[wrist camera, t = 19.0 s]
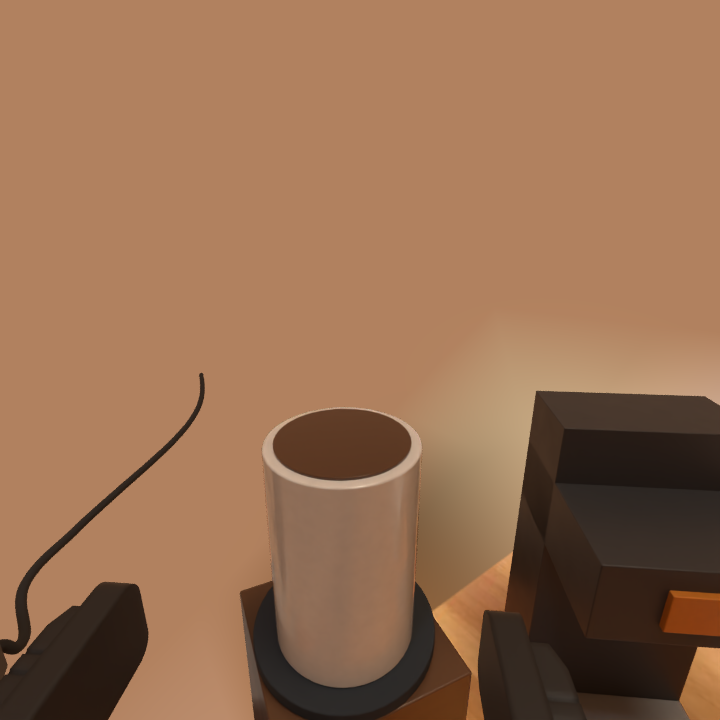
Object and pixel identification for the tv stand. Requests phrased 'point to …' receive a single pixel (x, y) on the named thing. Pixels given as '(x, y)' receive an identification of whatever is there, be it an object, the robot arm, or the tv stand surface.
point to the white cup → (343, 541)
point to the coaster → (343, 705)
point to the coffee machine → (621, 545)
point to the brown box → (415, 716)
